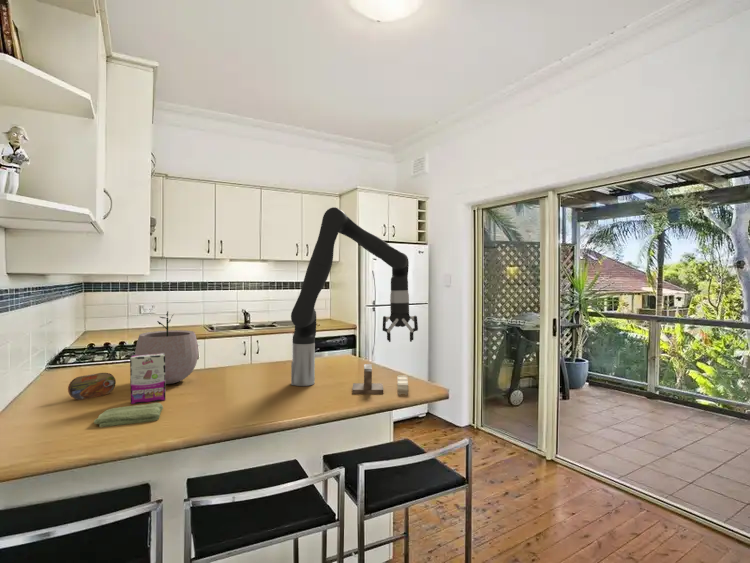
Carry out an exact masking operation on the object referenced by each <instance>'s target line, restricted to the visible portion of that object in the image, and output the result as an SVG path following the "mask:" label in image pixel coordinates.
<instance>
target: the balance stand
mask: <svg viewBox="0 0 750 563" xmlns="http://www.w3.org/2000/svg"><path fill="white" fill-rule="evenodd" d="M372 366H373V364H372V363H363V383H361V382H358V383H356V382H354V383H352V388H351V390H352V391H351V392H352V394H365V395H367V394H368V395H371V394H372V395H373V394H377V395H380V394H381V395H382V394H384V384H383V383H381V382H377V383H375V382H373V367H372Z"/></svg>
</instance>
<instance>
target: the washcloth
mask: <svg viewBox="0 0 750 563" xmlns="http://www.w3.org/2000/svg"><path fill="white" fill-rule="evenodd" d="M163 410H164V406H163V404H162V403H160V402H151V403H148V404H137V405H127V406H119V407H113V408H108V409H106V410H104V411H103V412H102V413H100V414H98V416H97V417H98V418H95V419H94V421H93V423H94V425H99V428H106V427H107V428H108V427H115V426H123V425H133V424H139V423H141V424H142V423H149V422H154V421H155V422H156V421H158V420H159V419H160V417H161V413H162V411H163Z"/></svg>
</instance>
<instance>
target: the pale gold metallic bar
mask: <svg viewBox="0 0 750 563" xmlns="http://www.w3.org/2000/svg"><path fill="white" fill-rule="evenodd" d="M396 378H397V381H396V382H397V384H396V386H397V387H396V388H397V395H401V394H405V395H406V396H407V395H409V381H408V380H409V379H408V375H406V374H405V375H403V374H402V375H397V377H396Z"/></svg>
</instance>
